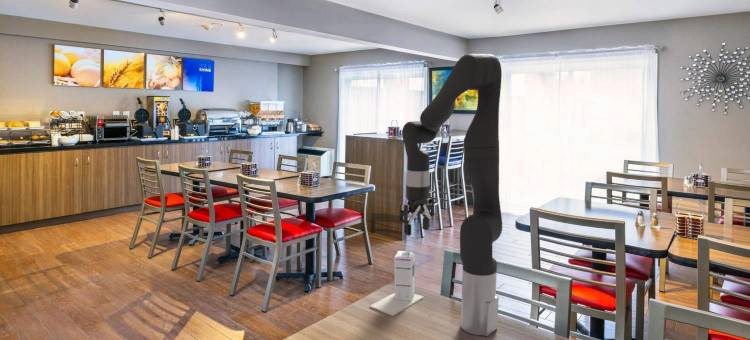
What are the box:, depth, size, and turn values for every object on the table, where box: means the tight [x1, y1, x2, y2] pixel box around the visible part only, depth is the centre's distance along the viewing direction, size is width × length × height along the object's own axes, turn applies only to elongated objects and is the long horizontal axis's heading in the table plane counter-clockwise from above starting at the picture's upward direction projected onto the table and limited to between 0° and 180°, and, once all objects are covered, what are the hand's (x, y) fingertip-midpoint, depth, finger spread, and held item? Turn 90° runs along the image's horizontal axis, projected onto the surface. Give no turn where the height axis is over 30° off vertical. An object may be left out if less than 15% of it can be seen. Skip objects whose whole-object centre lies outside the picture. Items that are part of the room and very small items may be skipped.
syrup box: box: [393, 250, 416, 301], centre depth 150 cm, size 6×6×14 cm
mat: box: [369, 292, 425, 317], centre depth 148 cm, size 9×16×1 cm, turn 140°
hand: (416, 232), depth 153 cm, fingers open, 8 cm apart
